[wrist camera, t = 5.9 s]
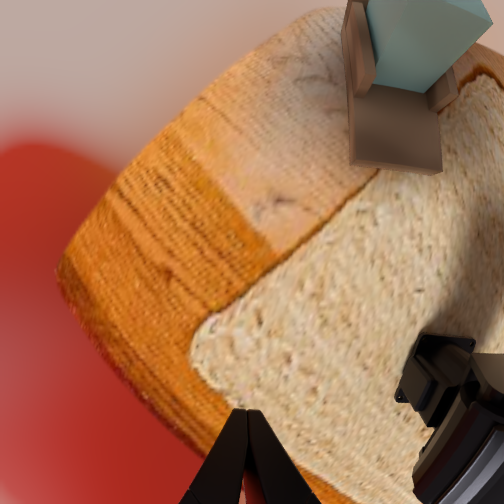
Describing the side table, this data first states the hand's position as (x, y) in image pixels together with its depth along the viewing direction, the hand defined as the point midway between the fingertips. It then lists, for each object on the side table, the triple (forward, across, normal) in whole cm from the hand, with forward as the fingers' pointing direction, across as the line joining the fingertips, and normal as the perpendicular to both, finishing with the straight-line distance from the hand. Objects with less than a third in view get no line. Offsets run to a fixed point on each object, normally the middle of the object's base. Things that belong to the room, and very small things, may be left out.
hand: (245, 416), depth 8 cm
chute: (+14, -9, -14) cm, 22 cm away
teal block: (+13, -9, -17) cm, 23 cm away
